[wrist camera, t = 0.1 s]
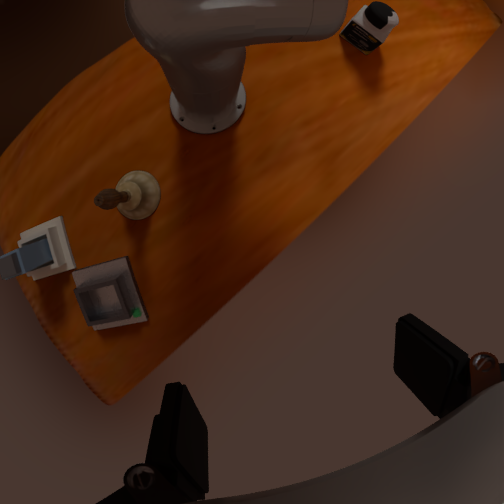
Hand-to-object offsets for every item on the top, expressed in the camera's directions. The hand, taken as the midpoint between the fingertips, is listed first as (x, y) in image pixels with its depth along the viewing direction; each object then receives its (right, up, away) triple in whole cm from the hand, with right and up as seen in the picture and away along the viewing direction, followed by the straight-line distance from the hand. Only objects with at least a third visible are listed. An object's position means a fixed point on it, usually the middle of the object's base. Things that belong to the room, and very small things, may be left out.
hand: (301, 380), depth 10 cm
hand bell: (-21, +15, +32) cm, 41 cm away
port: (-28, -2, +35) cm, 45 cm away
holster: (-42, +6, +32) cm, 53 cm away
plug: (-41, +6, +31) cm, 52 cm away
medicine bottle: (+20, +50, +30) cm, 61 cm away
